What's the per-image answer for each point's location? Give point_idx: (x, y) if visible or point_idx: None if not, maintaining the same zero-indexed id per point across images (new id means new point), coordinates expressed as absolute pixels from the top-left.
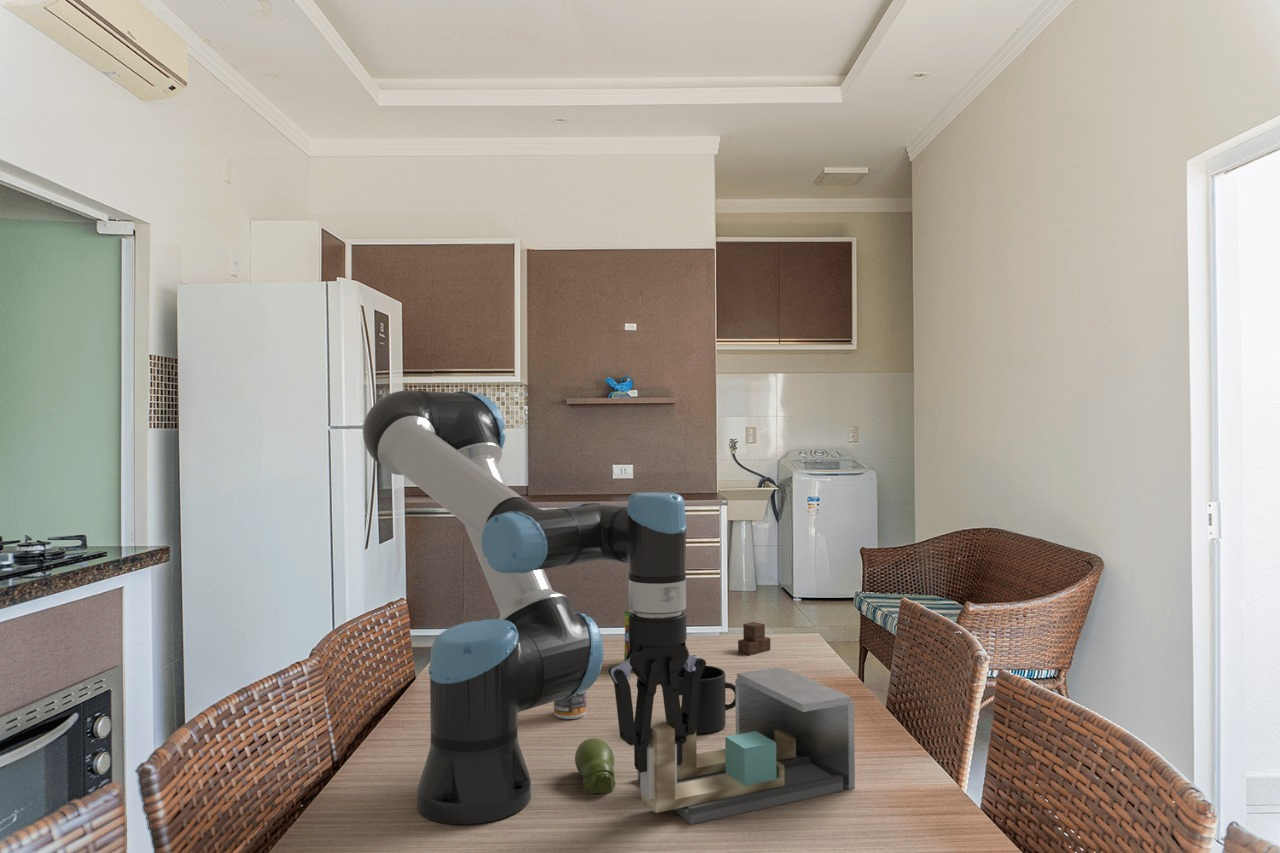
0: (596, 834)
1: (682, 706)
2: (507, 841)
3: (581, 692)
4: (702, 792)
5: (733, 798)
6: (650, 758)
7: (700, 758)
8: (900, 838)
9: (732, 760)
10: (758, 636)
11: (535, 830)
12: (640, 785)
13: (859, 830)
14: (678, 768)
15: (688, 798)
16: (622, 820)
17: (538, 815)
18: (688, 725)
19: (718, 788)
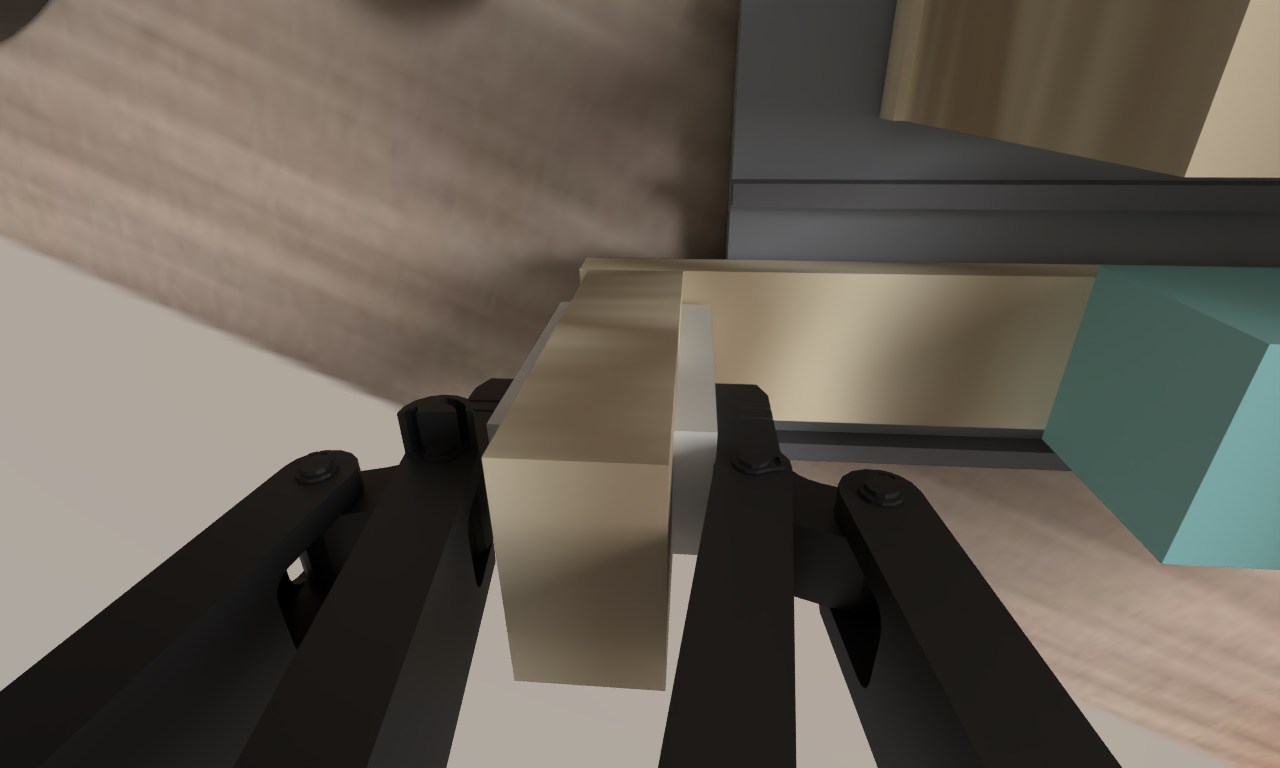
0: (373, 343)
1: (906, 656)
2: (51, 252)
3: None
4: (827, 409)
5: (932, 458)
6: None
7: None
8: (1208, 734)
9: (1135, 372)
10: None
11: (149, 212)
12: (554, 314)
13: (1164, 667)
14: (910, 88)
15: None
16: (494, 284)
17: (153, 73)
18: (833, 642)
19: (919, 407)
